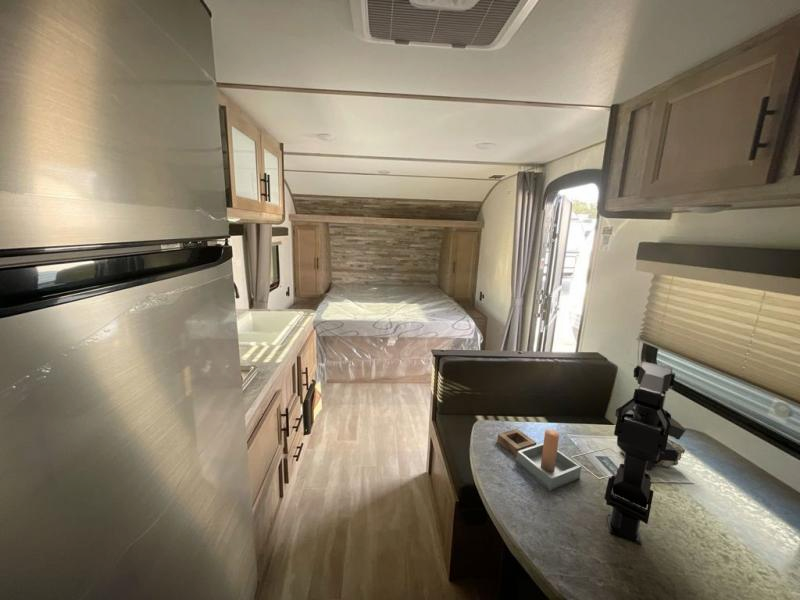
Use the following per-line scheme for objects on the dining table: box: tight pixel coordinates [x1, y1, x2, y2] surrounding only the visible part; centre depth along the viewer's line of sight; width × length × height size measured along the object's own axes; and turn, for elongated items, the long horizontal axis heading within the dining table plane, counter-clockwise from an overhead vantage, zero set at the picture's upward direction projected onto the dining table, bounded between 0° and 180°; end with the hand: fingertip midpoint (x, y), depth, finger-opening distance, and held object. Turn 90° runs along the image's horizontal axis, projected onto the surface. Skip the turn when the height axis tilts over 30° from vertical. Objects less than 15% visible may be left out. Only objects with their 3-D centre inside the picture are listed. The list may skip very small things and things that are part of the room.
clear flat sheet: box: [570, 446, 625, 480], centre depth 105 cm, size 11×1×18 cm
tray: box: [515, 442, 582, 491], centre depth 100 cm, size 13×13×4 cm
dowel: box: [541, 429, 560, 472], centre depth 99 cm, size 4×4×12 cm
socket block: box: [497, 428, 537, 458], centre depth 112 cm, size 9×9×3 cm
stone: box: [619, 437, 686, 468], centre depth 106 cm, size 10×12×15 cm
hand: (638, 457), depth 88 cm, fingers open, 9 cm apart
